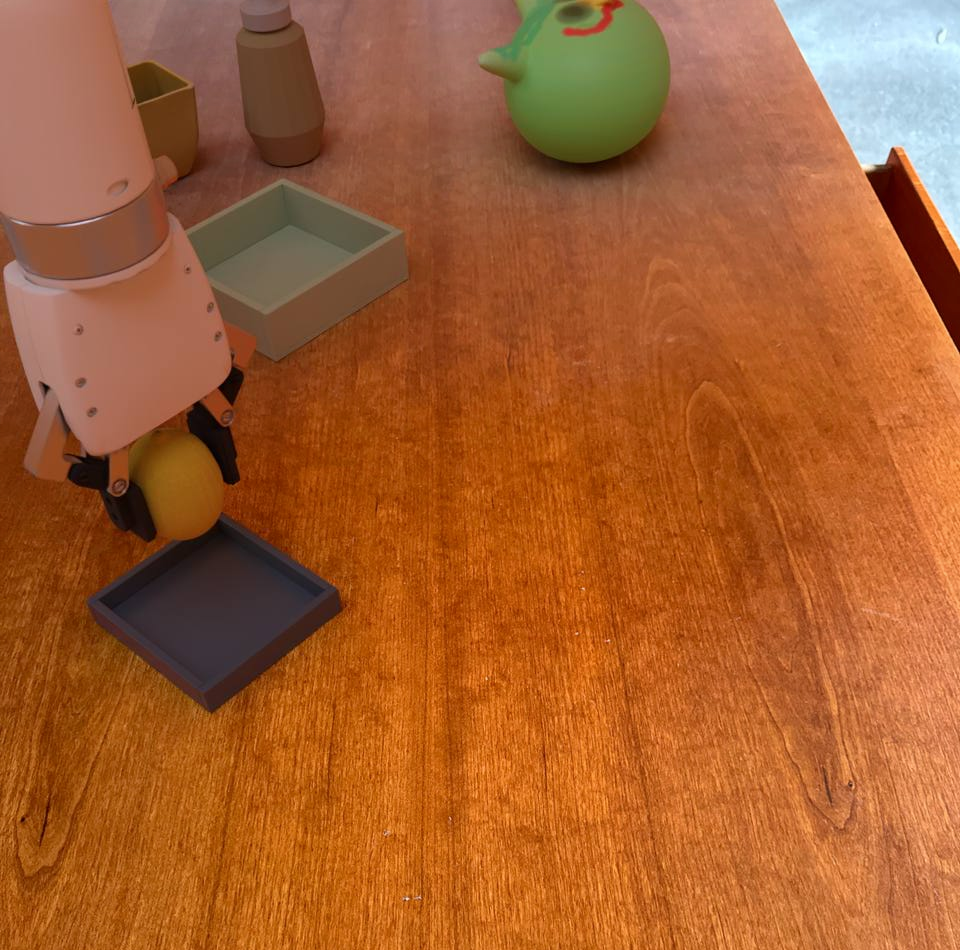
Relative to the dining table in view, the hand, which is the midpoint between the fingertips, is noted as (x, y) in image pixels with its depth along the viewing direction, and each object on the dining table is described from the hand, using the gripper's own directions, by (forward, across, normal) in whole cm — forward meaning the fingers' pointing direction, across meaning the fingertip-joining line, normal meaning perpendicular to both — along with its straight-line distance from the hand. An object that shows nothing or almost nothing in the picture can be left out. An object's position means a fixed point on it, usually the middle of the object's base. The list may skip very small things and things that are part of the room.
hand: (179, 499), depth 70 cm
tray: (+10, 0, 0) cm, 10 cm away
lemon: (+3, 0, 0) cm, 3 cm away
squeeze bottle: (+10, -46, -44) cm, 64 cm away
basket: (+10, -29, -26) cm, 40 cm away
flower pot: (+10, -35, -52) cm, 64 cm away
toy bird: (+10, -64, -21) cm, 68 cm away
